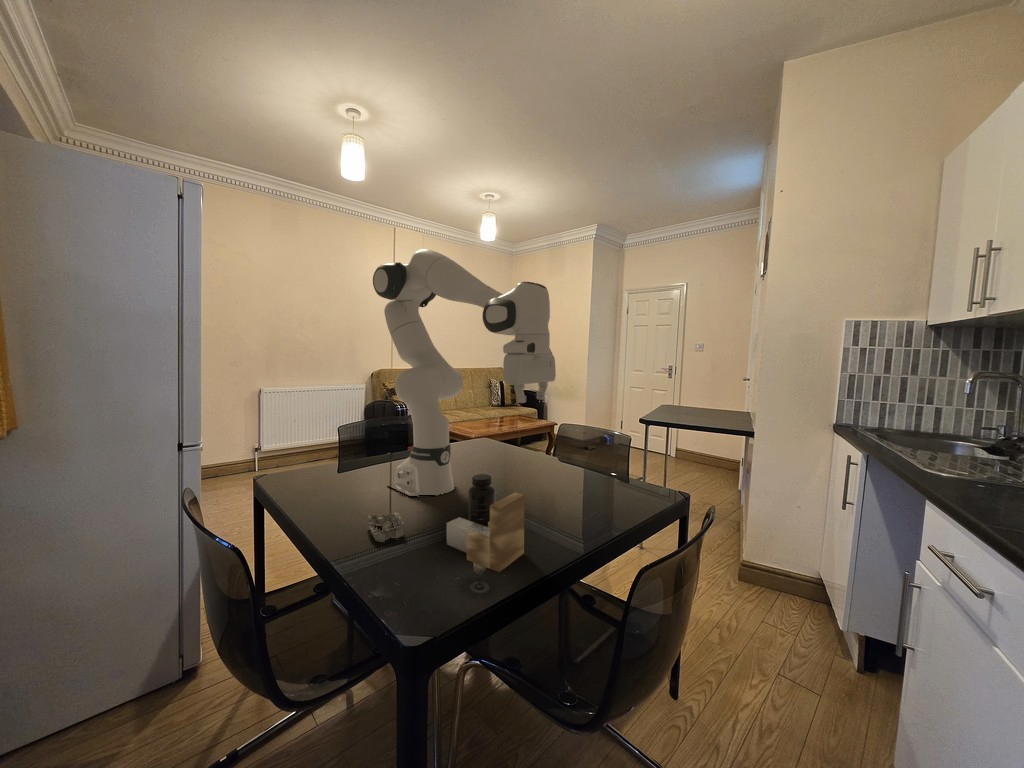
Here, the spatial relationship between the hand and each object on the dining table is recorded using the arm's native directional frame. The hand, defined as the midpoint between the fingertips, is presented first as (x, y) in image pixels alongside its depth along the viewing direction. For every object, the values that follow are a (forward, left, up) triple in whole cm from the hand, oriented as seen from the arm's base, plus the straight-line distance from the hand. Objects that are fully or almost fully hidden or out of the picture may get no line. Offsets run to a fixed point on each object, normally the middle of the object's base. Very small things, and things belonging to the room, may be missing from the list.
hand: (531, 400), depth 102 cm
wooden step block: (+4, -21, -31) cm, 38 cm away
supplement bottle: (-9, -9, -31) cm, 34 cm away
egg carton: (-24, -27, -32) cm, 48 cm away
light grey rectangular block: (-1, -21, -31) cm, 38 cm away
